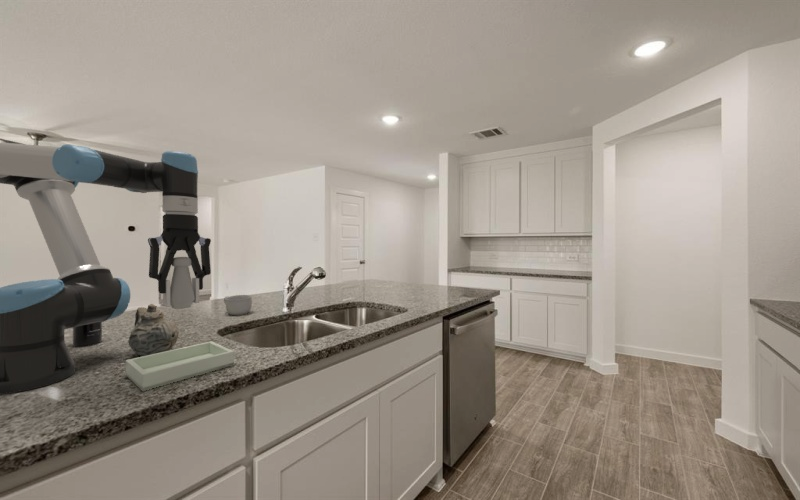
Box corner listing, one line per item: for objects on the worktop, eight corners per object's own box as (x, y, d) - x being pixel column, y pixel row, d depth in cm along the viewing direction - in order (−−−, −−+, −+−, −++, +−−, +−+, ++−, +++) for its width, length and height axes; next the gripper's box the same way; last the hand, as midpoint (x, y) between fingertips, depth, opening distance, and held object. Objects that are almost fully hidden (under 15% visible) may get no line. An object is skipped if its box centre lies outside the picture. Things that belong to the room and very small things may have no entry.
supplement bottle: (96, 345, 104) (95, 308, 104) (68, 348, 102) (67, 309, 101) (106, 339, 110) (105, 304, 110) (79, 341, 108) (79, 305, 108)
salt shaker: (162, 309, 82) (161, 257, 82) (178, 305, 88) (177, 256, 87) (185, 309, 82) (184, 257, 82) (199, 305, 88) (199, 256, 87)
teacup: (256, 313, 151) (256, 296, 151) (234, 318, 142) (234, 299, 142) (239, 309, 159) (238, 293, 158) (216, 313, 150) (216, 296, 149)
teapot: (193, 355, 96) (193, 304, 96) (147, 368, 86) (146, 311, 86) (158, 343, 107) (157, 297, 107) (113, 353, 97) (112, 303, 97)
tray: (143, 391, 73) (142, 374, 73) (125, 375, 82) (125, 360, 82) (234, 365, 89) (233, 351, 89) (211, 353, 98) (211, 341, 97)
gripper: (139, 210, 74) (141, 312, 75) (225, 216, 89) (226, 300, 90) (130, 212, 79) (131, 307, 80) (213, 217, 94) (214, 297, 95)
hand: (181, 304), depth 85 cm, fingers closed on salt shaker, 6 cm apart
